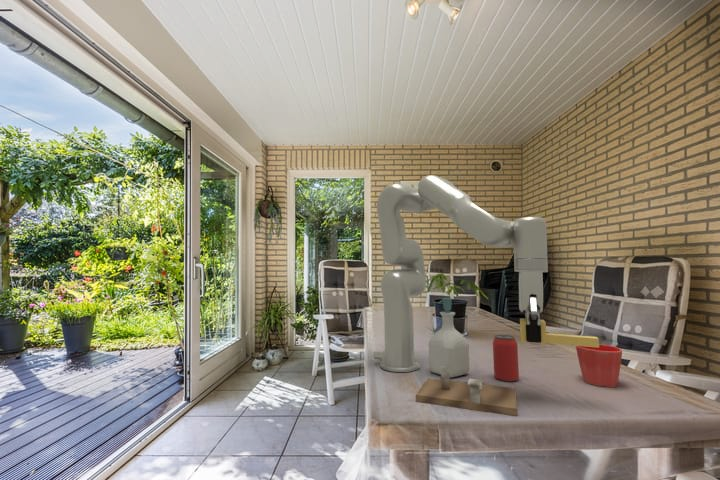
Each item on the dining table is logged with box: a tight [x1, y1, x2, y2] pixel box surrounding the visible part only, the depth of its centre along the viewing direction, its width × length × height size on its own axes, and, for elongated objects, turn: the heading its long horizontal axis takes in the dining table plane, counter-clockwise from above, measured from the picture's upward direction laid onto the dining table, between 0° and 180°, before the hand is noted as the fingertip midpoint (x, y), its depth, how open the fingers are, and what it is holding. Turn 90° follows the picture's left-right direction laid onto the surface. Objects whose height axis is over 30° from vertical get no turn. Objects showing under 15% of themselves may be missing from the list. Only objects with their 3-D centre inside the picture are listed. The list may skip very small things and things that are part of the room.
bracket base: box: [415, 365, 518, 417], centre depth 84 cm, size 22×14×7 cm, turn 67°
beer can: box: [492, 334, 520, 383], centre depth 99 cm, size 7×7×12 cm
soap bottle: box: [428, 297, 470, 379], centre depth 105 cm, size 10×10×23 cm
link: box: [519, 317, 600, 348], centre depth 83 cm, size 16×5×5 cm, turn 67°
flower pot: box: [575, 343, 623, 388], centre depth 95 cm, size 11×11×10 cm
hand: (532, 338), depth 85 cm, fingers closed on link, 5 cm apart
